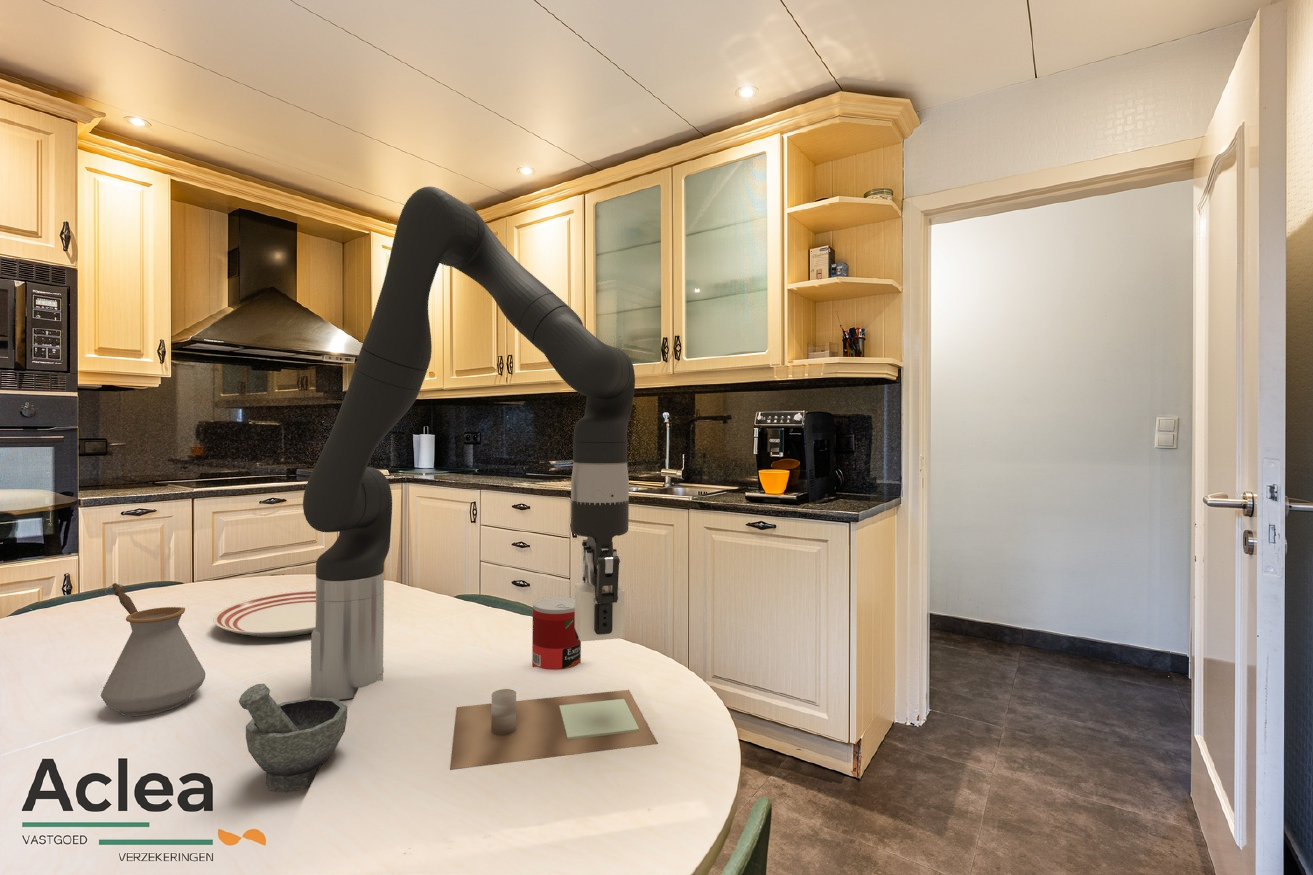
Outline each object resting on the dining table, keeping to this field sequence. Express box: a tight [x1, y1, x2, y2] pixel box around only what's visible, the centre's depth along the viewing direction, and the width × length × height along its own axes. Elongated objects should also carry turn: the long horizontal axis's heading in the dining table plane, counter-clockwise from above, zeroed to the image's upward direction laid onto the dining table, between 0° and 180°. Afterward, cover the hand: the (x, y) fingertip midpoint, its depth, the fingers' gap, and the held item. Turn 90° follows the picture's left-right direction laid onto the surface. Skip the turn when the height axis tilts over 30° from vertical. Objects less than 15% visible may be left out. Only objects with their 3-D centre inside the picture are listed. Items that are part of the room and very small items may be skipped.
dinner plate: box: [212, 589, 316, 638], centre depth 125 cm, size 28×27×3 cm
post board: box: [449, 688, 659, 771], centre depth 80 cm, size 24×16×6 cm, turn 105°
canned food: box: [531, 596, 582, 671], centre depth 102 cm, size 8×8×11 cm
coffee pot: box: [100, 582, 206, 717], centre depth 90 cm, size 21×12×15 cm, turn 58°
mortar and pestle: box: [238, 683, 348, 793], centre depth 69 cm, size 11×9×12 cm
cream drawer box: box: [574, 582, 626, 643], centre depth 81 cm, size 6×6×6 cm
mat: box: [559, 699, 639, 740], centre depth 81 cm, size 9×9×1 cm
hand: (598, 625), depth 81 cm, fingers closed on cream drawer box, 5 cm apart
